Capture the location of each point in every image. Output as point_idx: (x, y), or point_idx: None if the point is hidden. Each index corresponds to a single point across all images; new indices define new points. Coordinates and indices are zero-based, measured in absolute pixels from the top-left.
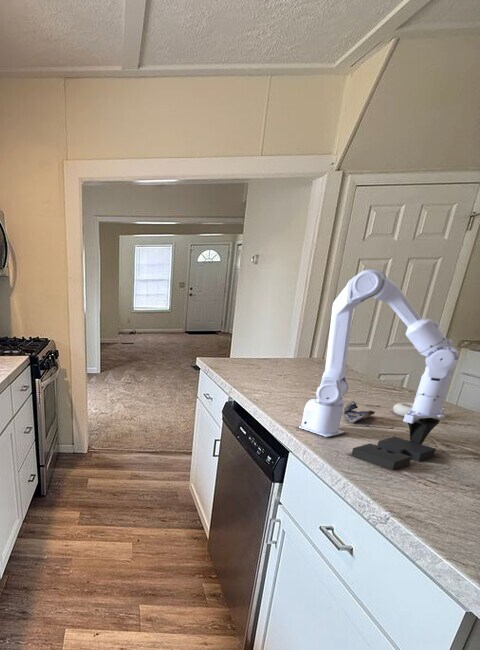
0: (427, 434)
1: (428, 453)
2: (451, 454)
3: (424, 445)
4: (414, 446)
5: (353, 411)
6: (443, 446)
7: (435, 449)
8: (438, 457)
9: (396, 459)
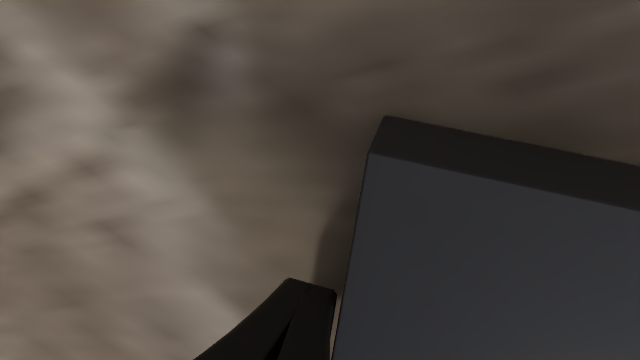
0: (222, 358)
1: (552, 173)
2: (169, 4)
3: (359, 266)
4: (494, 334)
5: None
6: (27, 124)
7: (388, 151)
8: (390, 68)
9: None
